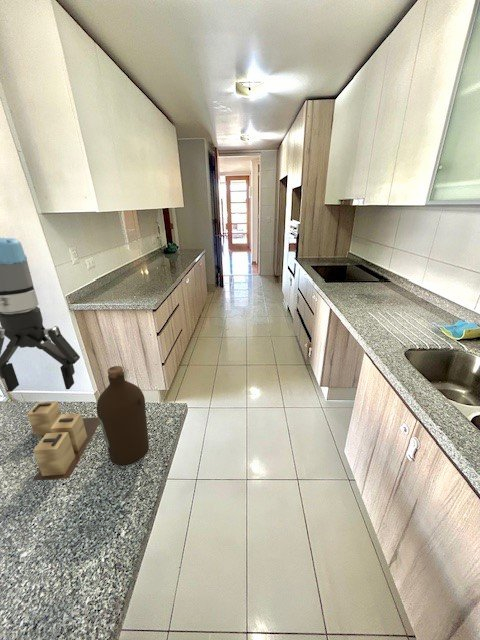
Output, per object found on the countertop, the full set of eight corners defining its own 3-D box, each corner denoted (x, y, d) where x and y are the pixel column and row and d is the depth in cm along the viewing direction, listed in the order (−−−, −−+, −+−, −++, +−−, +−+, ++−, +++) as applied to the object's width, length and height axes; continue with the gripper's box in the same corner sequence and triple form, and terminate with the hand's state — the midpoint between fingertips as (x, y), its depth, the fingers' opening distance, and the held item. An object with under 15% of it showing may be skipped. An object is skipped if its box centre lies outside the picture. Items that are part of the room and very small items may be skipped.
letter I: (58, 452, 66) (49, 427, 63) (68, 437, 71) (60, 413, 68) (78, 451, 67) (71, 426, 64) (87, 436, 72) (80, 412, 69)
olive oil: (151, 432, 74) (140, 355, 65) (151, 463, 65) (138, 378, 56) (110, 440, 71) (93, 361, 62) (104, 474, 62) (83, 386, 53)
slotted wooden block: (35, 437, 72) (26, 413, 69) (45, 424, 76) (38, 400, 73) (54, 436, 72) (46, 412, 69) (63, 423, 77) (56, 399, 74)
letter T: (42, 476, 60) (32, 449, 57) (54, 457, 65) (45, 431, 62) (64, 474, 61) (56, 447, 58) (75, 456, 66) (67, 430, 62)
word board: (33, 482, 60) (32, 480, 59) (76, 420, 78) (75, 418, 78) (69, 479, 60) (69, 477, 60) (103, 418, 79) (103, 417, 79)
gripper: (-58, 315, 54) (-23, 398, 62) (67, 314, 57) (86, 394, 64) (-27, 304, 61) (1, 380, 69) (83, 303, 64) (99, 377, 71)
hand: (42, 387), depth 67 cm, fingers open, 13 cm apart
